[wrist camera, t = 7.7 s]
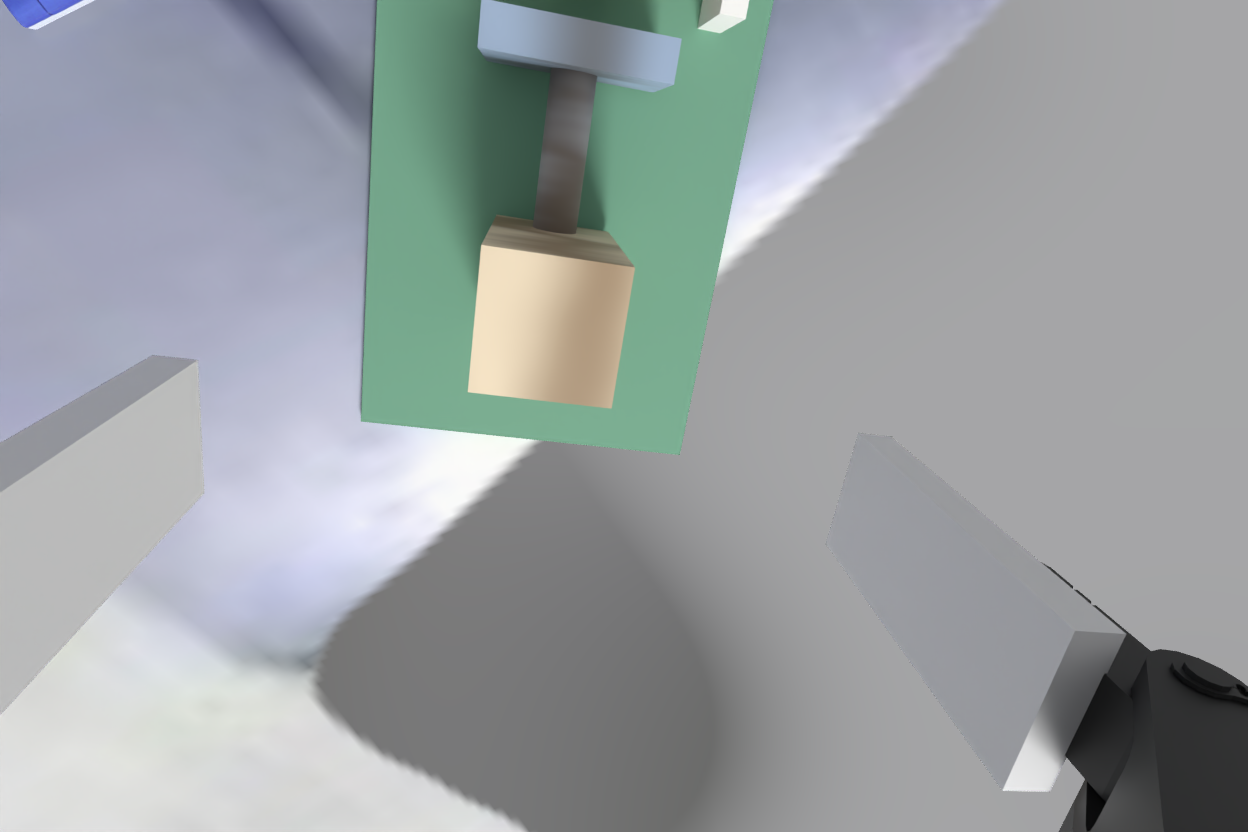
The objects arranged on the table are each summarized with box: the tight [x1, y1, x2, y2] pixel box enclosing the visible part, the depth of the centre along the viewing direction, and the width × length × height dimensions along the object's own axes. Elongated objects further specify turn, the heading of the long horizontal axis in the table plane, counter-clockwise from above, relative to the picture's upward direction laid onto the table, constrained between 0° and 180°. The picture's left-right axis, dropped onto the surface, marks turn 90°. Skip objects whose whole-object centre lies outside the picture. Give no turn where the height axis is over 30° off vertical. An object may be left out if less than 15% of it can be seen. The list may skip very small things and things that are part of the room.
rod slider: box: [468, 0, 682, 409], centre depth 27 cm, size 7×12×10 cm, turn 171°
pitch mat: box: [361, 0, 774, 455], centre depth 32 cm, size 16×26×1 cm, turn 171°
